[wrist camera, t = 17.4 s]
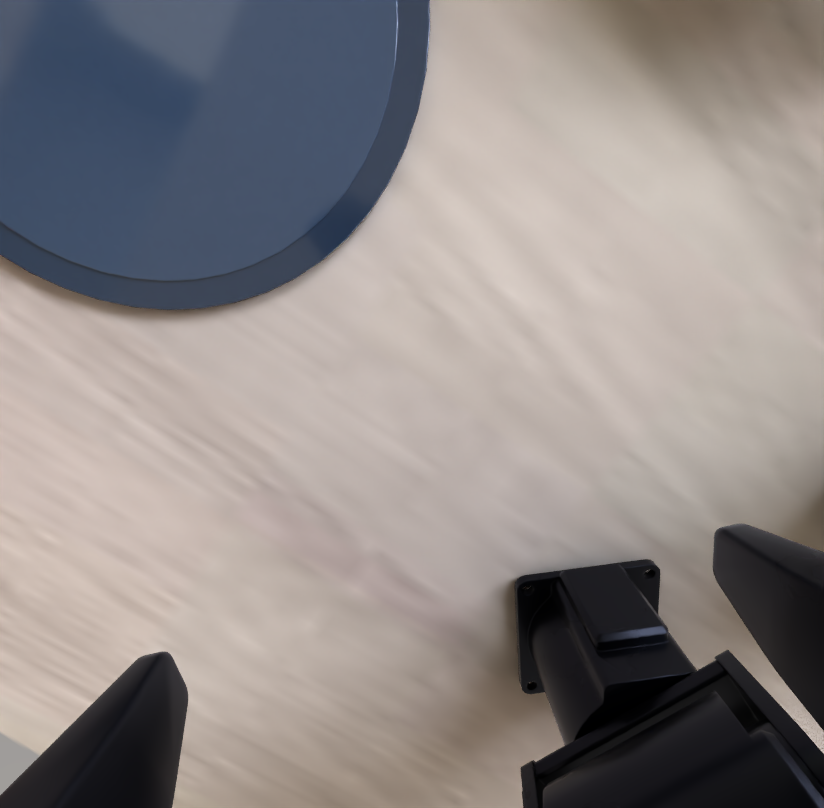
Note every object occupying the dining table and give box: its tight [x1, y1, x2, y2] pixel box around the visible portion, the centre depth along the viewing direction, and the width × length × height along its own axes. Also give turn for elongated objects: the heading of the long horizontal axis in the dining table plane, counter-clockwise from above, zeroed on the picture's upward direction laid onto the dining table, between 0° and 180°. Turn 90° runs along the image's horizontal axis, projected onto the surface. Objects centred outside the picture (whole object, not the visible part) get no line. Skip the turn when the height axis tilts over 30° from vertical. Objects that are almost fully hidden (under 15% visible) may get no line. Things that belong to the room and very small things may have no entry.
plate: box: [0, 0, 430, 310], centre depth 16 cm, size 18×18×1 cm
